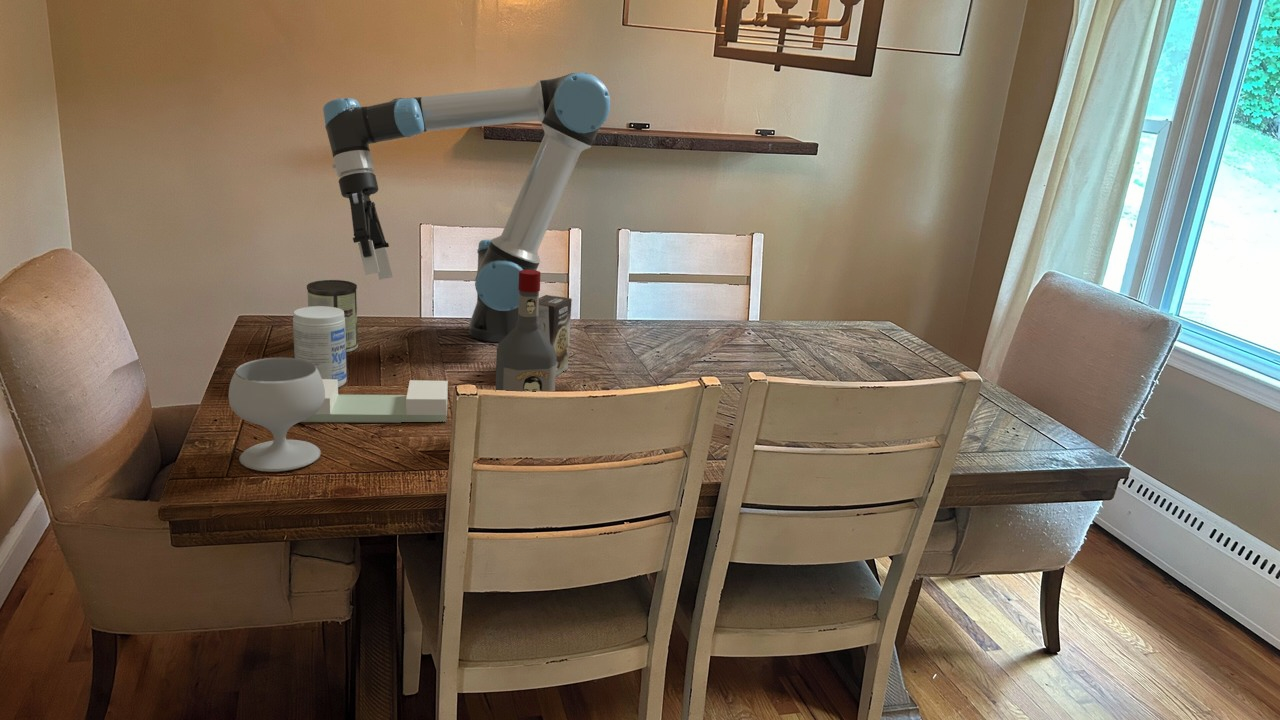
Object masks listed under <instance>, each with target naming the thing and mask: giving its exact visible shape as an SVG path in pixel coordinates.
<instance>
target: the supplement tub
mask: <svg viewBox="0 0 1280 720" xmlns="http://www.w3.org/2000/svg"><path fill="white" fill-rule="evenodd" d="M292 315H293V318H292V332H293V353H294V358H296V359H302V360H306V361H308V362H311V363H312V364H314V365H315V366H316V368H317V369H318V371H319V373H320V375H321V378H322V379H338V388H340V387H342V386H343V385H345V384H346V382H347V375H348V374H347V352H346V335H345V317H344V311H343V310H342V309H339V308H335V307H328V306H312V307H308V306H305V307H300V308H298V309H295V310H294V311H293V314H292Z"/></svg>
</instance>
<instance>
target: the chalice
mask: <svg viewBox="0 0 1280 720" xmlns="http://www.w3.org/2000/svg"><path fill="white" fill-rule="evenodd" d="M227 395H228V403H229V404H228V405H229V406H230V408H231V410H232V411H233V412H234V414H235V415H236V416H237V417H239V418H240V419H242V420H244V421H246V422H249V423H252V424H255V425H258V426H261V427H263V428H266V429H267V430H268V431H270V433H271V434H272V436H273V439H272V440H269V441H265V442H260V443H256V444H254V445H252V446H250V447H247V448H246V449H245V450H244V451H243V452H241V453H240V455H239V458H238V461H239V462H240V464H241V465H243V466H244V467H245V468H247V469H251V470H254V471H258V472H259V471H260V472H274V473H275V472H277V473H278V472H286V471H292V470H293V471H294V470H298V469H301V468H304V467H306V466H309V465H311V464H312V463H315V462H316V461H317V460H319V458H320V457H321V456H322V455H321V454H322V452H321V449H320V448H319V447H318V446H316V445H315V444H314V443H312V442H308V441H306V440H298V439H287V434H288V432H289V430H290V429H291V428H292V427H293V426H294V425H297V424H298V423H302V422H301V421H303V420H305V419H307V418H309V417H310V416H312V415H313V414H315V413H316V412H317V411H318V410H319V409H320V408H321V406H322V404H323V402H324V399H325V389H324V384H323V380H322V378H321V375H320V373H319V371H318V369H317V368H316V366H315V365H314V364H312V363H311V362H308V361H306V360H302V359H296V358H295V357H269V358H268V357H267V358H259V359H255V360H250V361H248V362H244V363H243V364H241V365H239V366H238V367H236V369H235V371H234V373H233V375H232V377H231V380H230V383H229V387H228V394H227Z"/></svg>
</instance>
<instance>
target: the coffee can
mask: <svg viewBox="0 0 1280 720" xmlns="http://www.w3.org/2000/svg"><path fill="white" fill-rule="evenodd" d="M357 286H358V285H357V284H356V283H354V282H353V281H348V280H342V279H329V280H328V279H325V280H323V279H322V280H317V281H312V282H308V284H307V285H306V290H307V307H312V306H328V307H335V308H339V309H342V310H343V311H344V317H345V335H346V353H350V352H352V351H353V352H354V351H355V350H357V349H358V347H359V344H358V315H357V314H358V313H357V311H358V309H357V308H358V307H357V306H358V305H357V304H358V303H357V290H358V287H357Z"/></svg>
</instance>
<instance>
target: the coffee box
mask: <svg viewBox="0 0 1280 720" xmlns="http://www.w3.org/2000/svg"><path fill="white" fill-rule="evenodd" d="M572 300H573V299H572V298H570V297H566V296H565V297H563V296H558V295H557V296H556V295H549V294H545V295H543V296H541V297H539V303H538V322H539V329H540V330H541V332H542V333H543V334H544V336H545V337H546V338H547V340H548V341H549V342H550V344H551V345H552V346H553V348H554V349H555V352H556V355H557V359H556V377H558V376H559V375H561V374H562V373H564V372H566V371H567V370H568V369H569V356H570V355H569V354H570V338H571V337H570V333H571V332H570V331H571V316H572ZM565 370H566V371H565ZM563 371H564V372H563Z"/></svg>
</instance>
